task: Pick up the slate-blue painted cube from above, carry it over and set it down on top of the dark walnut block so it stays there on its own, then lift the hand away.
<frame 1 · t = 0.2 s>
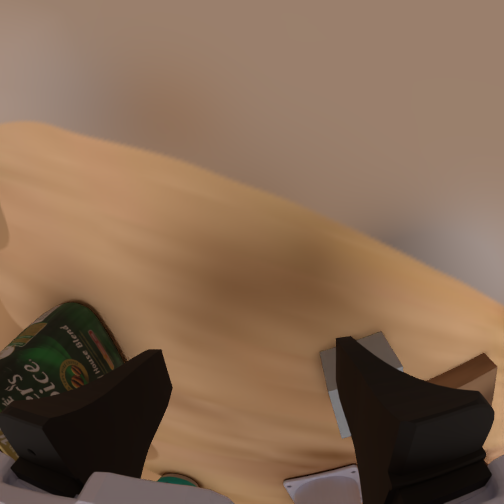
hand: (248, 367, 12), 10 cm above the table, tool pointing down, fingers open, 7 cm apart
walnut block: (443, 402, 24), on the table
coffee jar: (88, 347, 24), on the table
slate cube: (356, 366, 23), on the table
beverage can: (180, 482, 28), on the table
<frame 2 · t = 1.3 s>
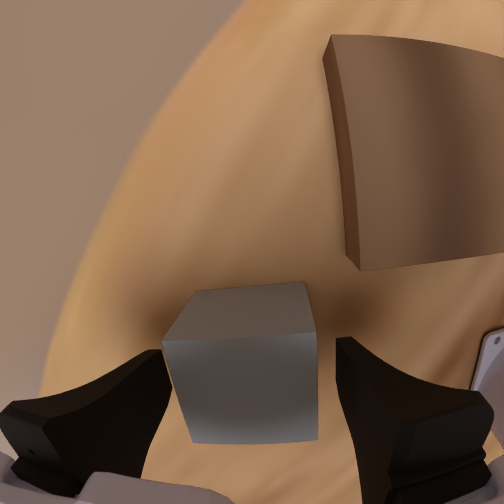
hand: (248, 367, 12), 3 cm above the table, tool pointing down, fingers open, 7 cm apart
walnut block: (424, 151, 13), on the table
slate cube: (255, 333, 15), on the table
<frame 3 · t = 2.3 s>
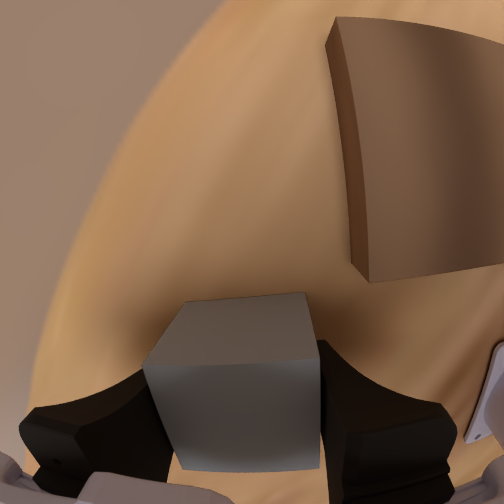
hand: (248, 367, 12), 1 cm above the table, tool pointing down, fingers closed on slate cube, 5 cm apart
walnut block: (436, 148, 11), on the table
slate cube: (251, 349, 13), on the table, touching gripper
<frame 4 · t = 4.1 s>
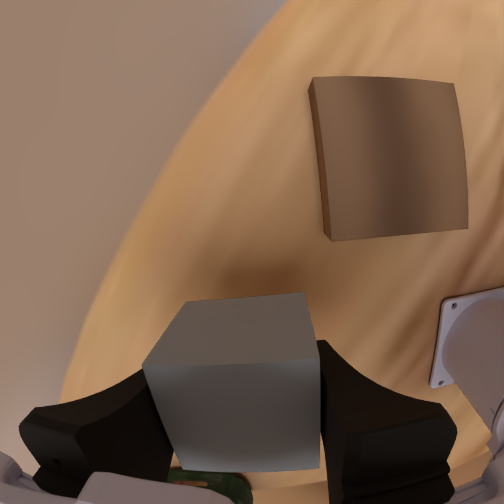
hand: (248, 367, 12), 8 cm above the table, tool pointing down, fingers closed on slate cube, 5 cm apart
walnut block: (384, 157, 18), on the table
coffee jar: (207, 484, 26), on the table
slate cube: (250, 349, 13), point 7 cm above the table, touching gripper
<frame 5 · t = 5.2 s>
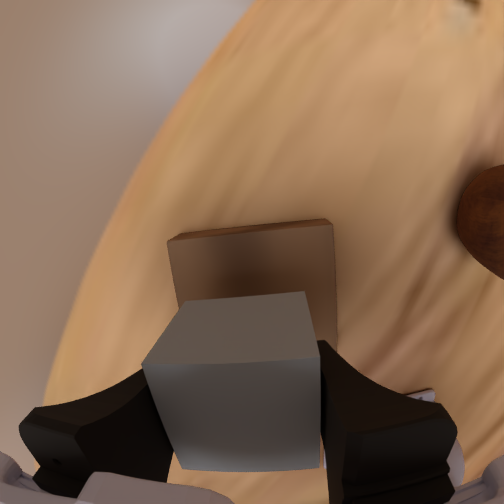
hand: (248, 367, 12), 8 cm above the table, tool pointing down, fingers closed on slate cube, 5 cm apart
walnut block: (259, 293, 20), on the table
wooden figurine: (476, 212, 18), on the table
slate cube: (250, 348, 13), point 7 cm above the table, touching gripper
when the fingers open (6 cm above the table, at t = 6.1 s): slate cube drops 2 cm, resting on walnut block.
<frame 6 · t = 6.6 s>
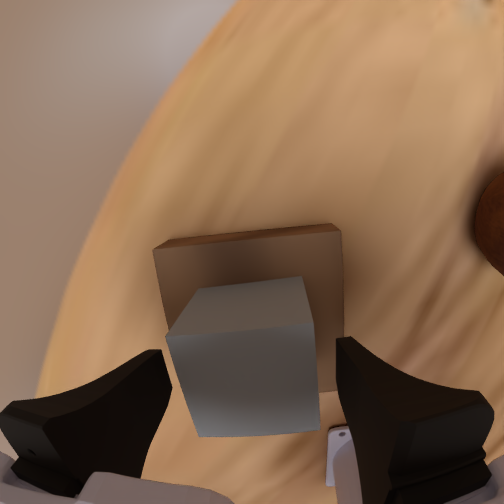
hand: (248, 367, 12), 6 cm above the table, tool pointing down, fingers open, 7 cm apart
walnut block: (257, 305, 18), on the table, touching slate cube
wooden figurine: (493, 216, 15), on the table
slate cube: (256, 329, 15), point 2 cm above the table, touching walnut block
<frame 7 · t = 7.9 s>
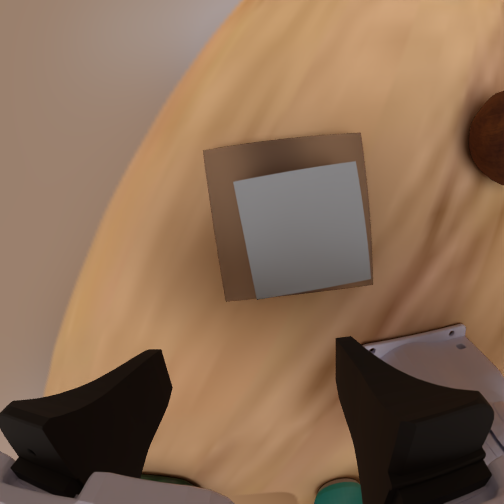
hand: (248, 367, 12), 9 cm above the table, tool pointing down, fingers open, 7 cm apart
walnut block: (290, 212, 20), on the table
wooden figurine: (485, 143, 18), on the table
coffee jar: (168, 488, 28), on the table
slate cube: (296, 217, 17), point 2 cm above the table
beverage can: (338, 487, 26), on the table
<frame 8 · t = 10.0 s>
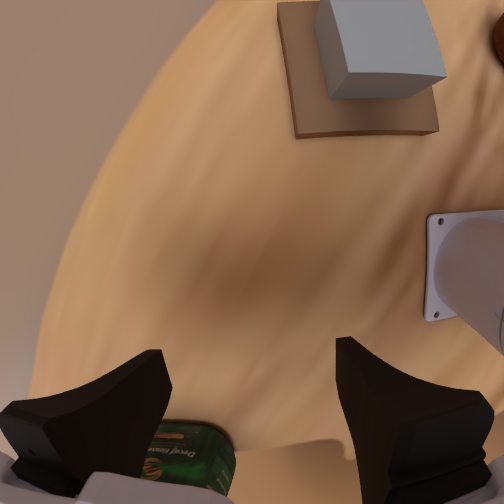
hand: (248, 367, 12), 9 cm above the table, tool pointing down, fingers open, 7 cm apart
walnut block: (351, 74, 18), on the table, touching slate cube
coffee jar: (186, 443, 26), on the table
slate cube: (362, 60, 15), point 2 cm above the table, touching walnut block
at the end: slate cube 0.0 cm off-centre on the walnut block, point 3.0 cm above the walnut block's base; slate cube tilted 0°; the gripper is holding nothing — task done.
